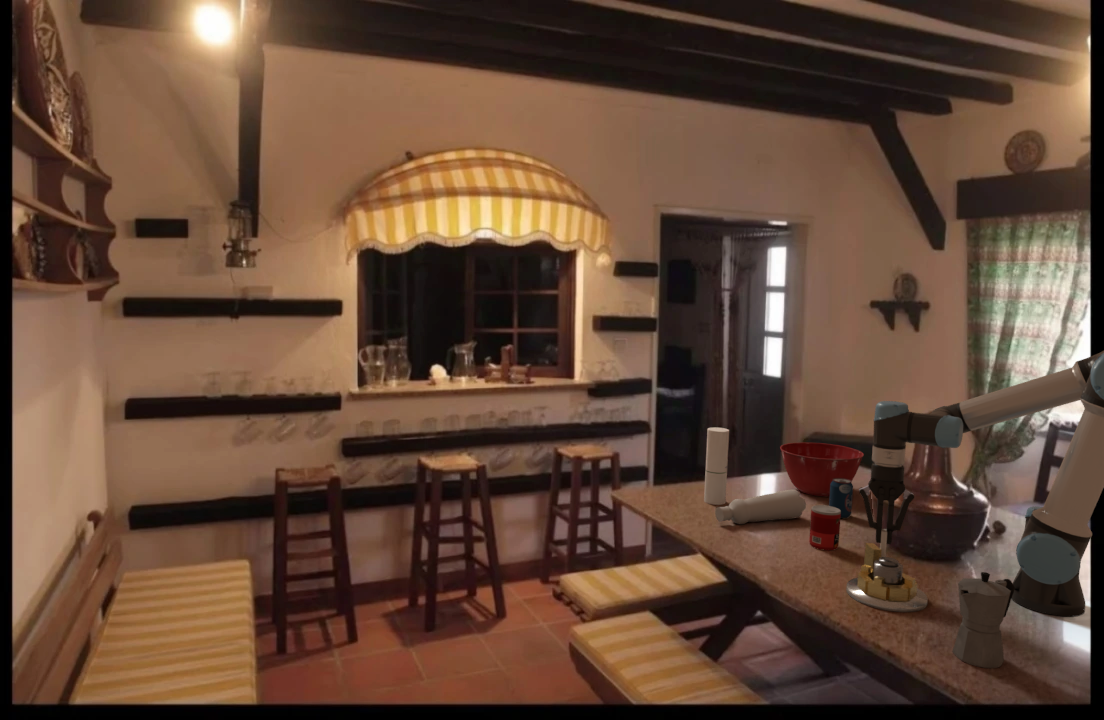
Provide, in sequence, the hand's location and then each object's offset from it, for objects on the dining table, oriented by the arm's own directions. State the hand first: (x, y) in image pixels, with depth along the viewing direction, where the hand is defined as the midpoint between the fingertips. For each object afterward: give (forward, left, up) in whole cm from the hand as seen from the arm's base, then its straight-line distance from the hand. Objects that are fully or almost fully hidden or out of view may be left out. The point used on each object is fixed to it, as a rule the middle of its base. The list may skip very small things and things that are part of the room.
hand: (882, 555), depth 193 cm
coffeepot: (-33, +17, -8) cm, 38 cm away
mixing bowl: (+62, -59, -8) cm, 86 cm away
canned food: (+25, -11, -8) cm, 28 cm away
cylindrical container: (+72, -16, -8) cm, 74 cm away
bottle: (+50, -13, -8) cm, 52 cm away
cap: (-5, +6, -7) cm, 11 cm away
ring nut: (-3, +5, -6) cm, 8 cm away
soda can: (+40, -40, -8) cm, 57 cm away
